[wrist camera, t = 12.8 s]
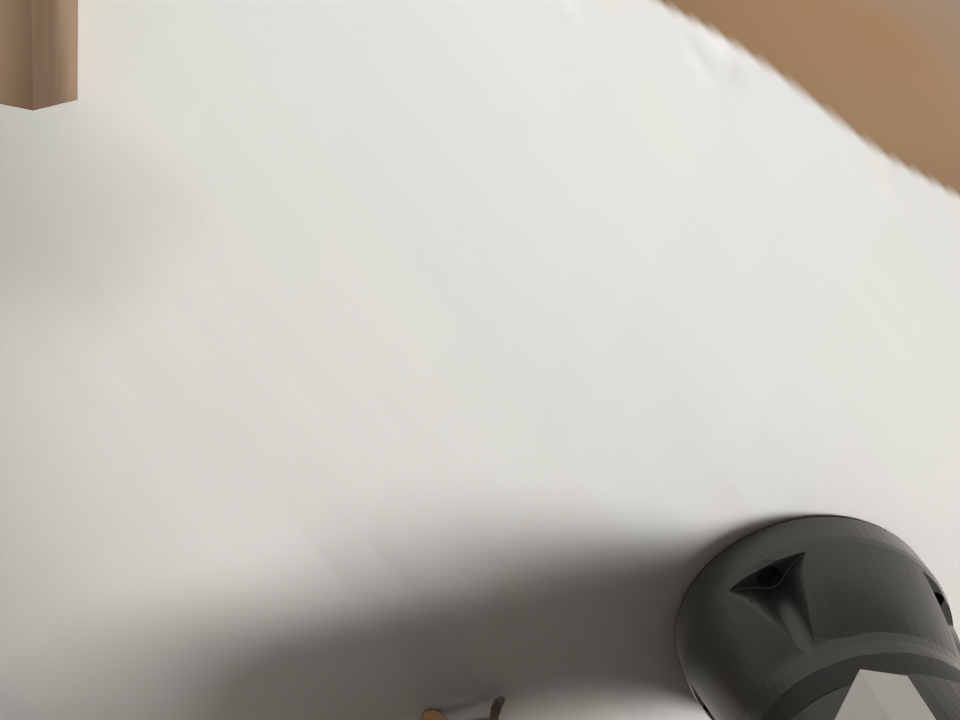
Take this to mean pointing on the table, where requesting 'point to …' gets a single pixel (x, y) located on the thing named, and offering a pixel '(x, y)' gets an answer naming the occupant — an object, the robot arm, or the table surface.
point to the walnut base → (38, 52)
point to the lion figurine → (436, 719)
